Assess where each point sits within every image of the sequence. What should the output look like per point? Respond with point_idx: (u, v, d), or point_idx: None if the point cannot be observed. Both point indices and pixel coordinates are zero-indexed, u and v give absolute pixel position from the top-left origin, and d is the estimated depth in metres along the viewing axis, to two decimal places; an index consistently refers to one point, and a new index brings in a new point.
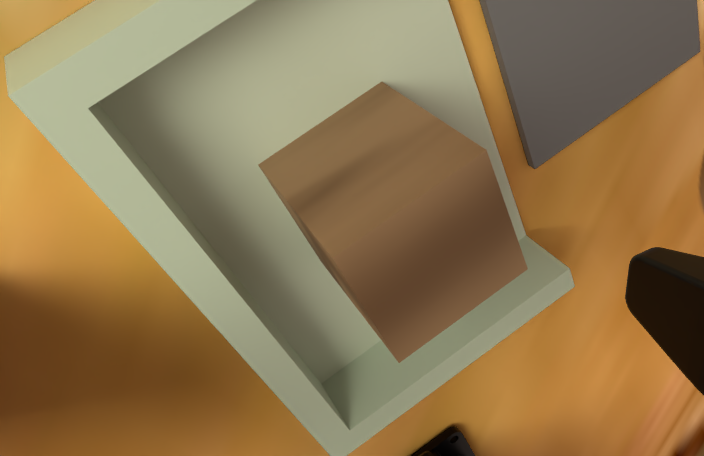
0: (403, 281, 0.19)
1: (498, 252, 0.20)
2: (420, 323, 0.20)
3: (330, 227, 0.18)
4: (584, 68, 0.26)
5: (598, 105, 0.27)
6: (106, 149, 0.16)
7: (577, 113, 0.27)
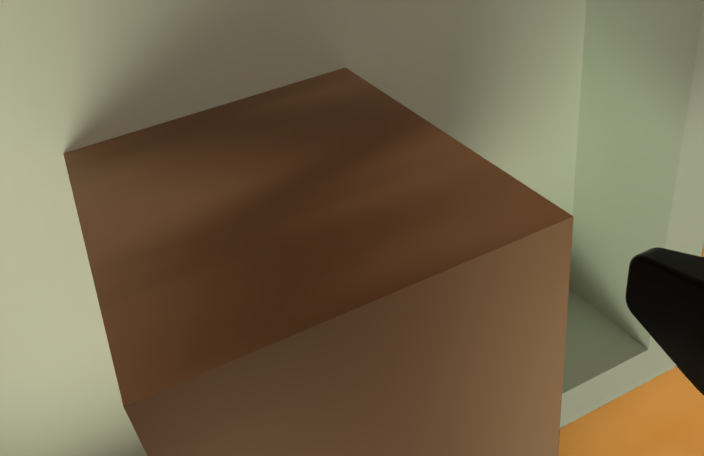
0: None
1: (466, 314, 0.07)
2: None
3: None
4: None
5: None
6: None
7: None
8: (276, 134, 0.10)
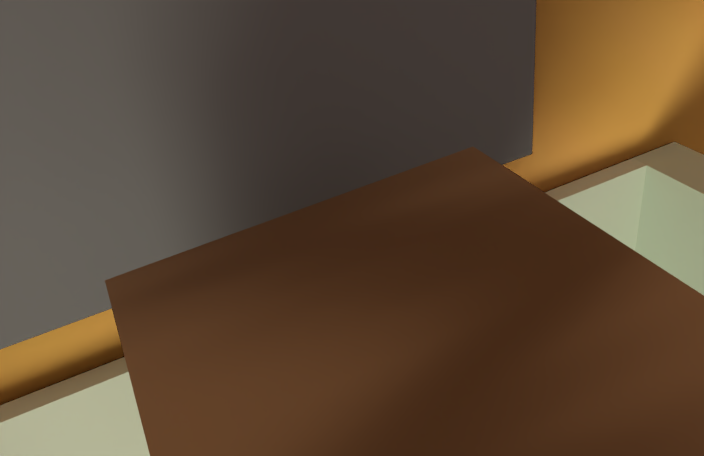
0: None
1: None
2: None
3: None
4: (375, 19, 0.10)
5: None
6: None
7: (474, 38, 0.11)
8: (409, 262, 0.07)
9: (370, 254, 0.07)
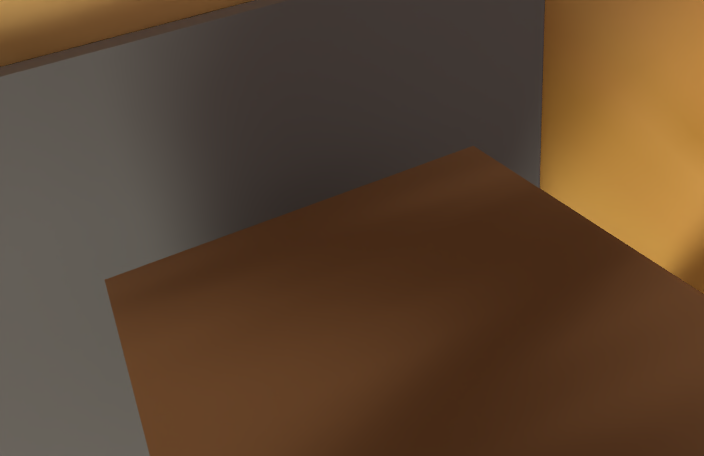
0: None
1: None
2: None
3: None
4: None
5: None
6: None
7: None
8: (409, 261, 0.07)
9: (370, 253, 0.07)
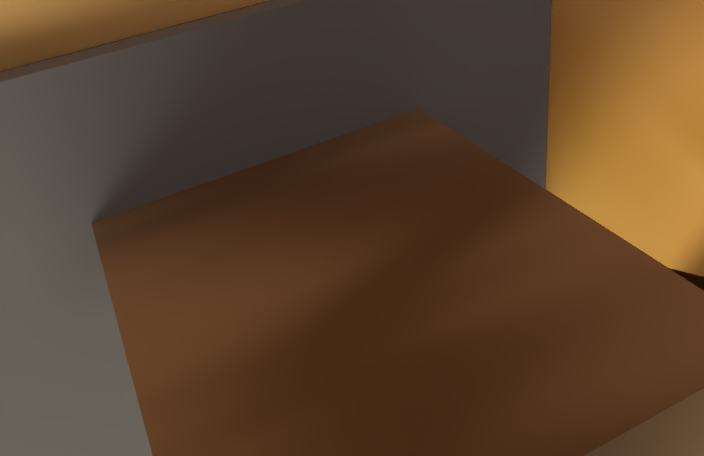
0: None
1: None
2: None
3: None
4: None
5: None
6: None
7: None
8: (351, 201, 0.08)
9: (319, 196, 0.08)
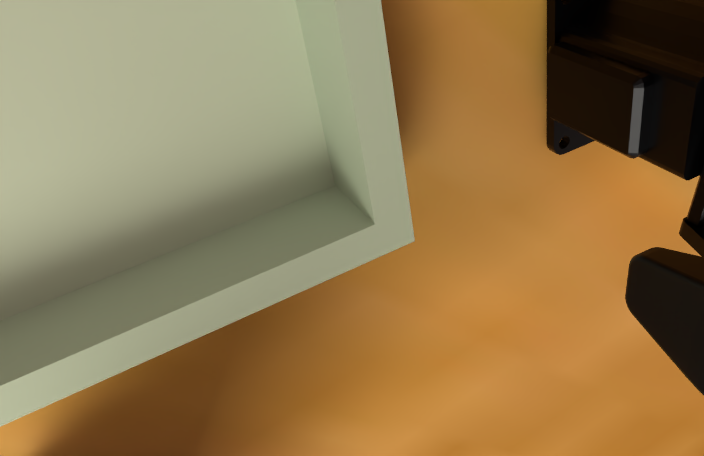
0: None
1: None
2: None
3: None
4: None
5: None
6: None
7: None
8: None
9: None
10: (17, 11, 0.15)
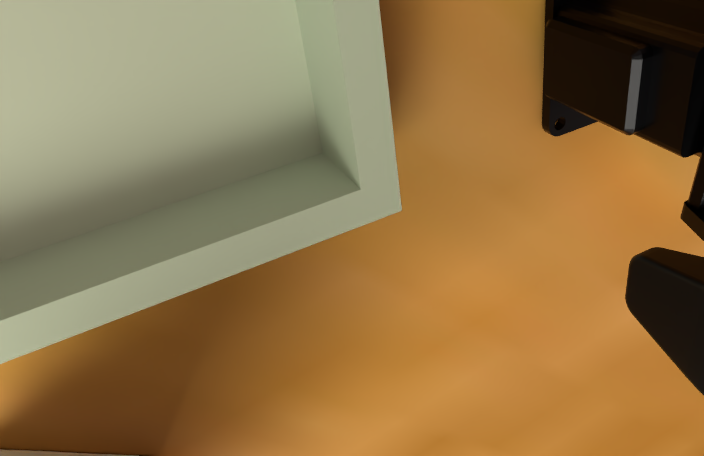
0: None
1: None
2: None
3: None
4: None
5: None
6: None
7: None
8: None
9: None
10: None
